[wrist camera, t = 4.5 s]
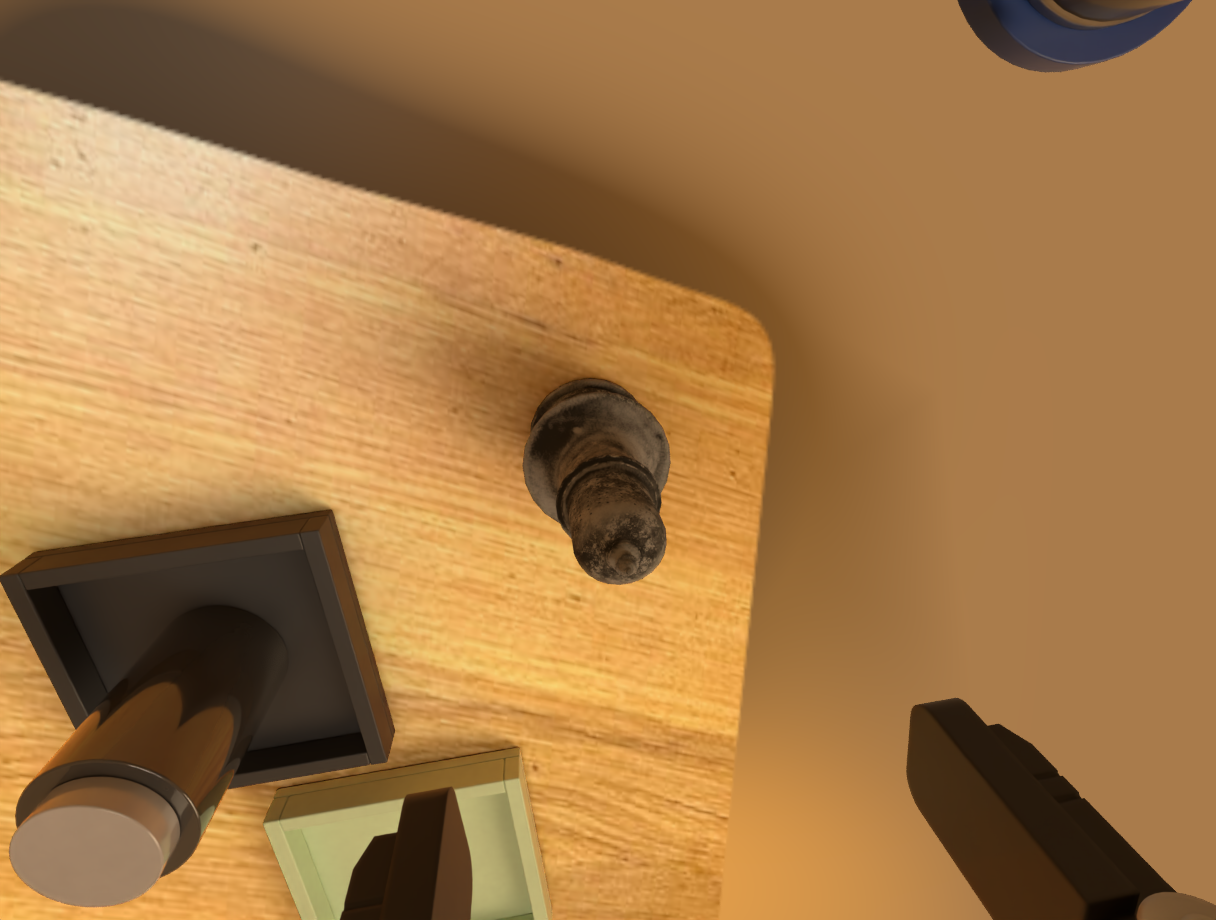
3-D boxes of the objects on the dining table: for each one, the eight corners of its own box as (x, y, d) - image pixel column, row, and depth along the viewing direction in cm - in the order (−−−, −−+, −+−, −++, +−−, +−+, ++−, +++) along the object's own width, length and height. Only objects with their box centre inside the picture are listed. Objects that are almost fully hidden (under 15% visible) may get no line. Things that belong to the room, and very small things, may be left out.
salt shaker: (651, 495, 31) (723, 656, 19) (524, 498, 30) (523, 666, 19) (657, 371, 28) (742, 471, 17) (521, 371, 28) (518, 475, 17)
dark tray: (332, 508, 29) (318, 530, 27) (395, 730, 33) (387, 762, 31) (33, 551, 28) (-4, 576, 26) (139, 774, 33) (114, 809, 31)
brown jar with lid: (269, 596, 29) (146, 777, 20) (303, 695, 31) (207, 902, 22) (140, 615, 29) (-49, 809, 19) (182, 715, 31) (31, 935, 21)
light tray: (519, 746, 35) (519, 778, 33) (552, 908, 39) (553, 944, 37) (276, 788, 34) (261, 823, 32) (338, 949, 38) (328, 988, 36)
